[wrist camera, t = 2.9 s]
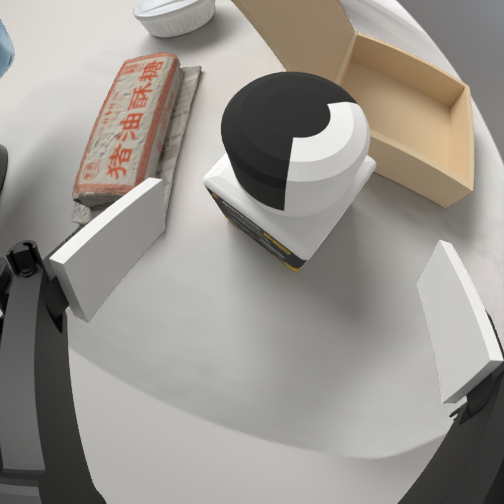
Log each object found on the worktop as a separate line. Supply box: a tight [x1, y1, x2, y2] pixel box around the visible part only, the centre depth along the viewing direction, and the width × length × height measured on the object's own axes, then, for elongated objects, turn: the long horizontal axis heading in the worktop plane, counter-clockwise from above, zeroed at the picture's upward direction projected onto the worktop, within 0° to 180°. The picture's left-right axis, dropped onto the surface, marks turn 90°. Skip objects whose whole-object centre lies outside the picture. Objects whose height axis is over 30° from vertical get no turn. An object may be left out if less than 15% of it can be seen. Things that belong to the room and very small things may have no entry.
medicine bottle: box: [203, 71, 376, 272], centre depth 15 cm, size 7×7×12 cm
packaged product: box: [71, 52, 202, 225], centre depth 22 cm, size 18×5×10 cm
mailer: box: [231, 0, 474, 208], centre depth 14 cm, size 20×13×16 cm, turn 67°
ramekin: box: [133, 0, 215, 38], centre depth 24 cm, size 11×11×5 cm
